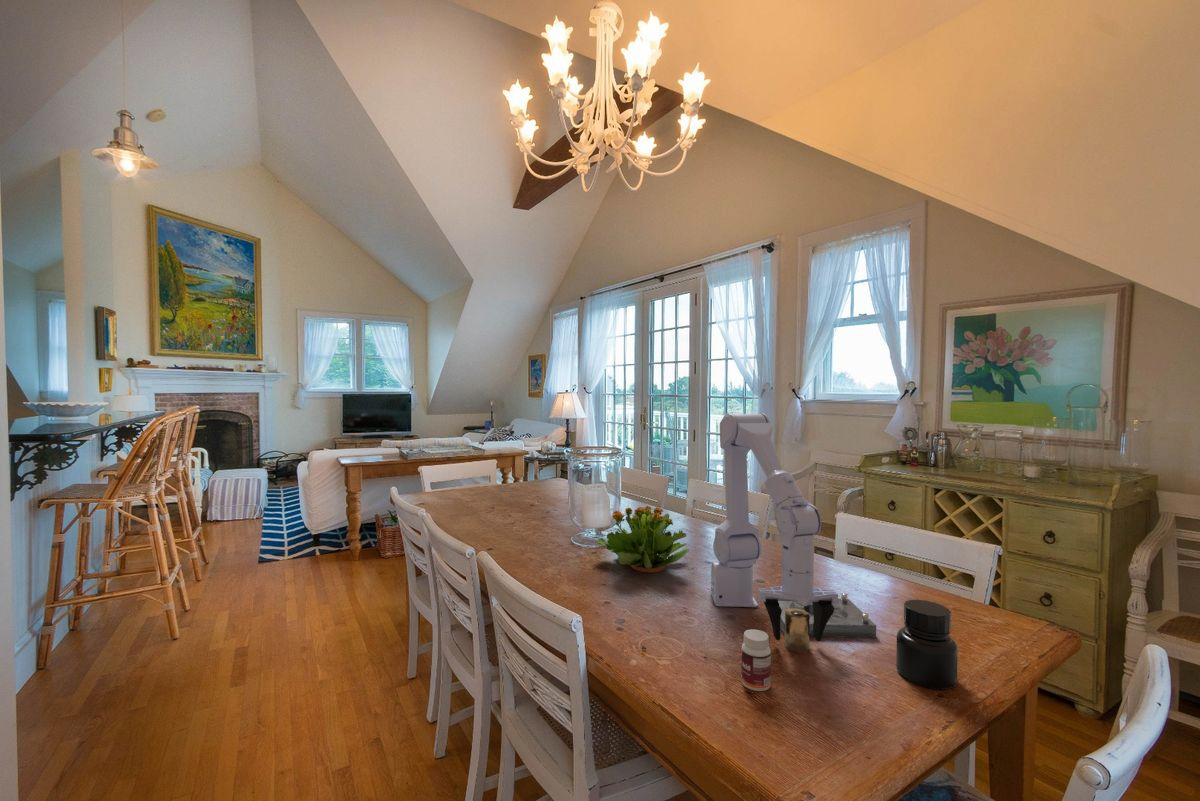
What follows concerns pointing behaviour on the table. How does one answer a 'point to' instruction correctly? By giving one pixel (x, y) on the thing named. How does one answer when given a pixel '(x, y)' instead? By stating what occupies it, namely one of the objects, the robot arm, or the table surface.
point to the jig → (836, 619)
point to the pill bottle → (756, 660)
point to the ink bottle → (927, 646)
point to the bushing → (797, 630)
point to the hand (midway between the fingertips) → (796, 638)
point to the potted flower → (645, 540)
